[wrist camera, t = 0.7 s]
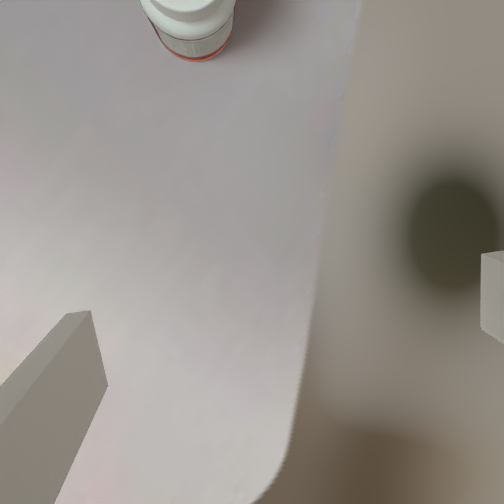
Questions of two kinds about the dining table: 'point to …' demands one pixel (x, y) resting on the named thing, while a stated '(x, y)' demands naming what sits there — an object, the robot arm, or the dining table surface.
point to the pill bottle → (192, 26)
